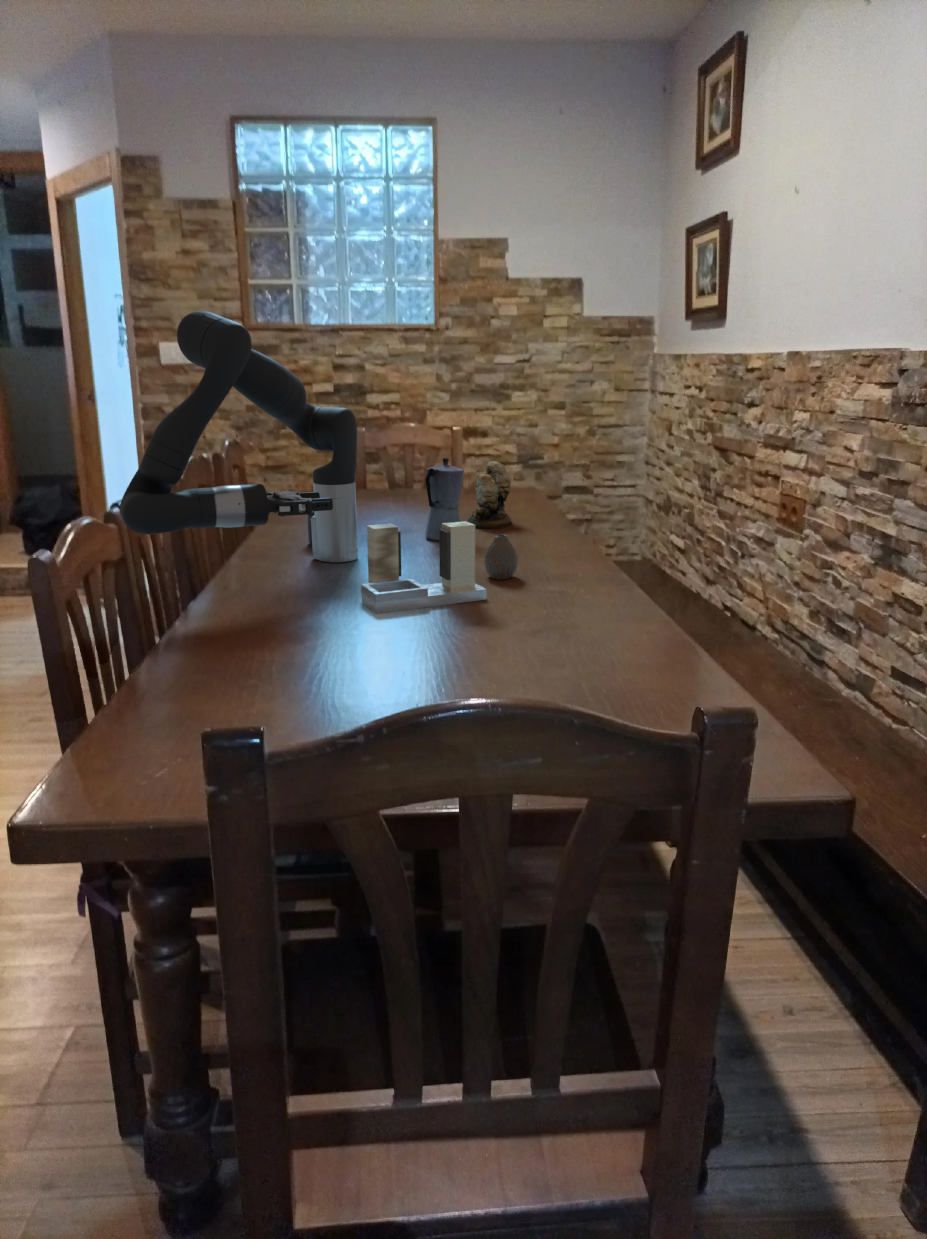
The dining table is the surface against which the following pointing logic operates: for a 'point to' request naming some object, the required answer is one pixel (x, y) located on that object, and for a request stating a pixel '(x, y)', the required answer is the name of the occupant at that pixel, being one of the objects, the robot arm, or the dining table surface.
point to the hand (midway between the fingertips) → (325, 500)
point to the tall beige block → (383, 552)
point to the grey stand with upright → (453, 589)
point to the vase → (501, 558)
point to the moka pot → (442, 496)
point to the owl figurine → (491, 498)
